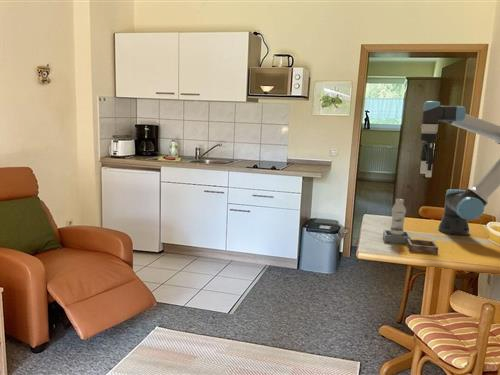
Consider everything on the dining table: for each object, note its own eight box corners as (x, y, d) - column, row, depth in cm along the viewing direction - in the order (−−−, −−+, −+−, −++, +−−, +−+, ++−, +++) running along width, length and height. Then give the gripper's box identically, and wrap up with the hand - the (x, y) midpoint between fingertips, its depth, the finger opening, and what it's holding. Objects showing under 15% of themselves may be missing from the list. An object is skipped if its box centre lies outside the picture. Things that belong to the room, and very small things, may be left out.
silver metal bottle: (390, 236, 223) (394, 197, 220) (404, 238, 220) (408, 199, 217) (387, 239, 218) (391, 199, 215) (401, 241, 215) (405, 200, 211)
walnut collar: (432, 247, 210) (433, 240, 210) (437, 254, 199) (438, 247, 199) (406, 244, 212) (406, 238, 212) (409, 251, 202) (410, 244, 201)
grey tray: (407, 238, 223) (407, 231, 222) (410, 244, 213) (410, 237, 212) (382, 236, 225) (383, 229, 225) (384, 242, 215) (385, 235, 214)
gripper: (416, 131, 235) (413, 171, 238) (426, 133, 210) (422, 178, 214) (431, 132, 233) (428, 172, 237) (443, 134, 209) (439, 179, 212)
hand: (425, 175), depth 225 cm, fingers open, 13 cm apart
